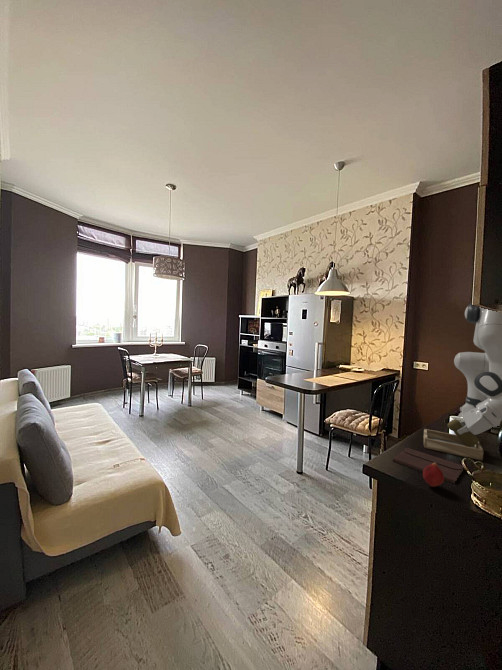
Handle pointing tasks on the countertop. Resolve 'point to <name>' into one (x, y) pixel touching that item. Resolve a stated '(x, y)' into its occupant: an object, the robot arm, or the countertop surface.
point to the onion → (433, 475)
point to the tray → (451, 444)
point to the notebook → (429, 463)
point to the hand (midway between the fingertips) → (457, 430)
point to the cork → (463, 434)
